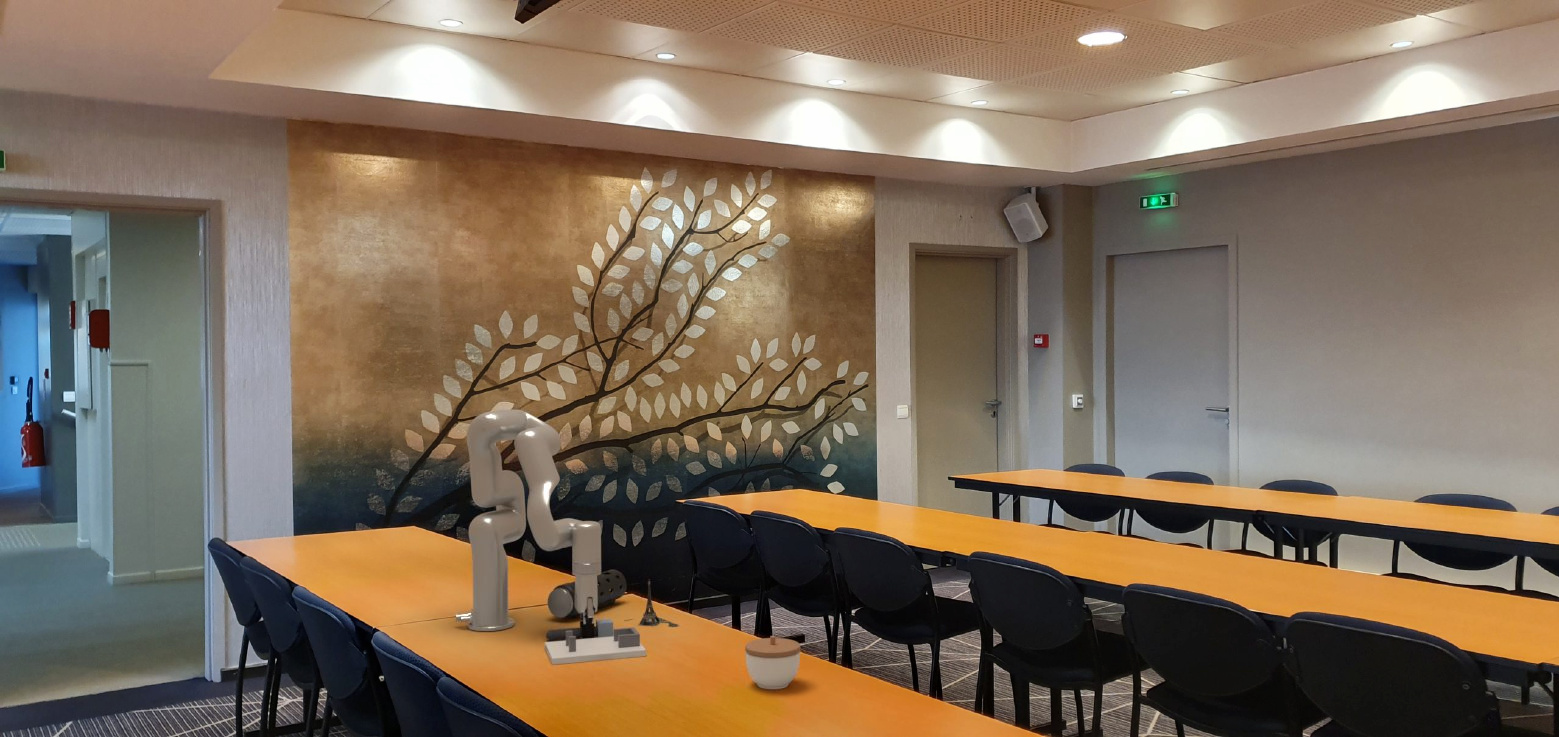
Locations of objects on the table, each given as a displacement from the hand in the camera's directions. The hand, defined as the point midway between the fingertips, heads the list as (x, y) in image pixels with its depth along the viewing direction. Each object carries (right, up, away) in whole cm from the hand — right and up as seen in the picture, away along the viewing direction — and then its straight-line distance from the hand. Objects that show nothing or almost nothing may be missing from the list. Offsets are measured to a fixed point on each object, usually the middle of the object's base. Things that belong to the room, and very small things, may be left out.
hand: (587, 636), depth 293 cm
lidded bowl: (+50, -1, -42) cm, 65 cm away
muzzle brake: (-5, 0, +29) cm, 29 cm away
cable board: (+4, 0, -14) cm, 15 cm away
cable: (-2, 0, -1) cm, 2 cm away
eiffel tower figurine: (+15, -1, +15) cm, 22 cm away
